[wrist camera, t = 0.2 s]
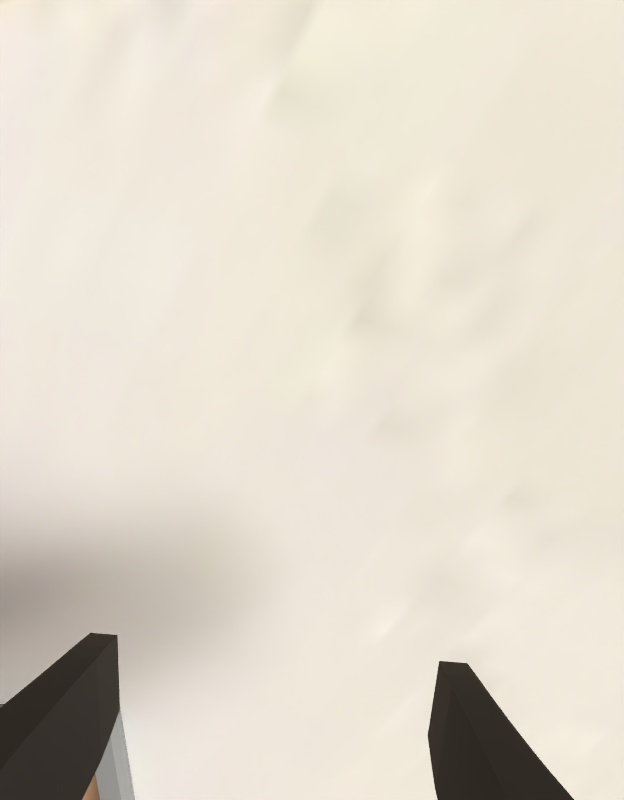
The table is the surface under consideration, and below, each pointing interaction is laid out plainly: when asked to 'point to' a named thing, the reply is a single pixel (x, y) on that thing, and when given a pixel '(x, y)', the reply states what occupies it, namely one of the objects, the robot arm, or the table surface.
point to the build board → (115, 767)
